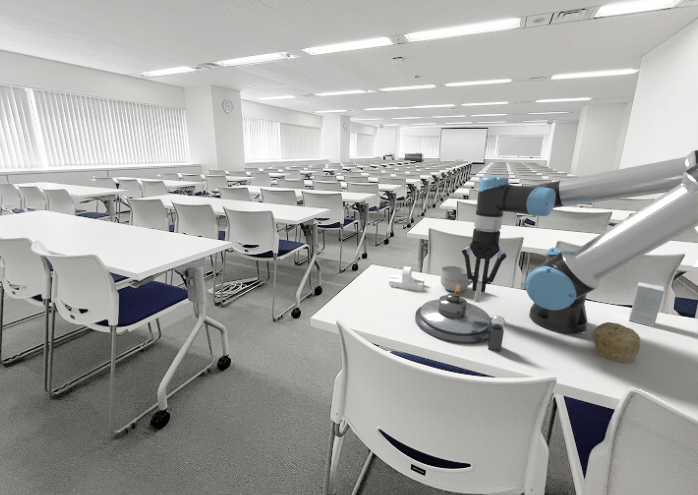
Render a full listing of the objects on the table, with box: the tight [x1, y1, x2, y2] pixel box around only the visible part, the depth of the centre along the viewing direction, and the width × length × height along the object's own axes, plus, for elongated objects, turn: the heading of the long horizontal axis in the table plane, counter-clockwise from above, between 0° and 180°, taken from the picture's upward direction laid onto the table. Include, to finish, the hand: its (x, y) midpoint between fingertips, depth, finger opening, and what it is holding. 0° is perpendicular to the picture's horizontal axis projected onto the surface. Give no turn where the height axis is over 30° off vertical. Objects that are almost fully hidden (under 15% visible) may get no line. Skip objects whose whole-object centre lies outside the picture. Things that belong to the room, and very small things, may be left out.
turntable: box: [420, 284, 491, 336], centre depth 99 cm, size 20×22×7 cm
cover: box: [438, 292, 468, 319], centre depth 99 cm, size 8×8×6 cm
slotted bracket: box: [388, 266, 425, 292], centre depth 127 cm, size 13×7×8 cm, turn 71°
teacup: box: [440, 265, 480, 292], centre depth 124 cm, size 14×11×8 cm
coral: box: [592, 321, 641, 364], centre depth 85 cm, size 9×9×8 cm
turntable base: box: [414, 305, 492, 345], centre depth 100 cm, size 23×23×1 cm
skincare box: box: [628, 281, 665, 328], centre depth 101 cm, size 6×4×12 cm
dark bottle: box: [487, 315, 506, 353], centre depth 86 cm, size 3×3×9 cm
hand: (476, 300), depth 105 cm, fingers closed
